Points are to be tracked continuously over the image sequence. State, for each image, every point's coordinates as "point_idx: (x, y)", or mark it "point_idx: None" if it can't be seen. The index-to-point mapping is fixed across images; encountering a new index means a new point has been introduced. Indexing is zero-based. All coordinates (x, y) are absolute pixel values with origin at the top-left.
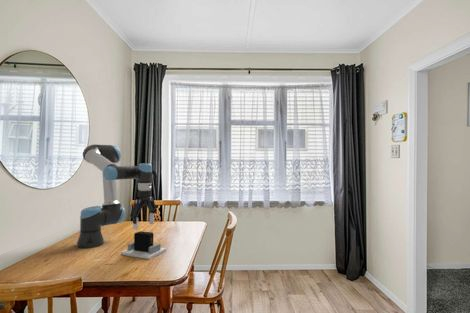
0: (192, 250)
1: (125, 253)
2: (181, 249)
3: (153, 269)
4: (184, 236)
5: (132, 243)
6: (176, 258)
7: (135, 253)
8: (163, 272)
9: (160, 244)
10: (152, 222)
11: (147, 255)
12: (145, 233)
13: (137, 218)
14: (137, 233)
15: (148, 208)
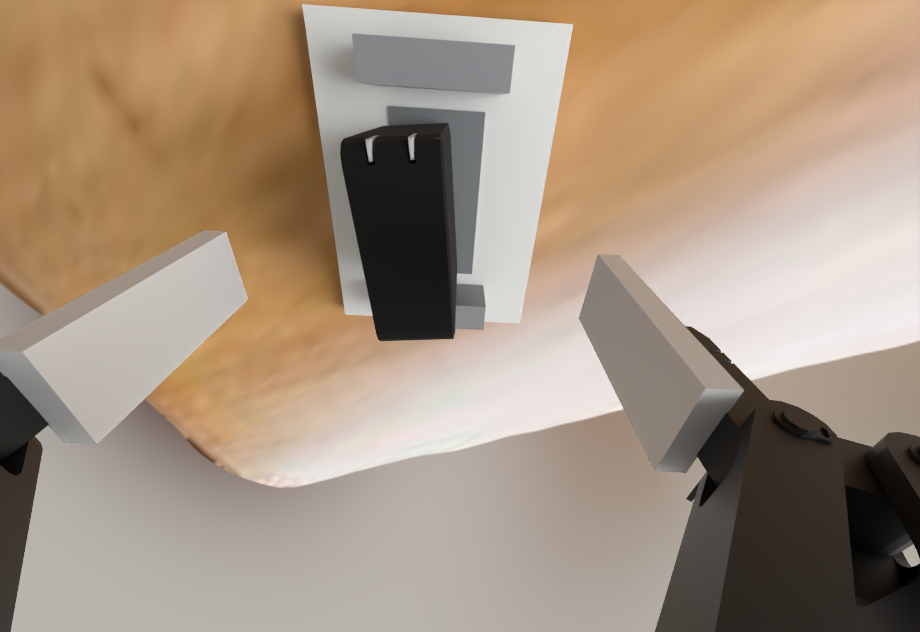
0: (560, 421)
1: (315, 78)
2: (566, 373)
3: (260, 390)
4: (914, 257)
5: (397, 76)
6: (425, 409)
7: (340, 188)
8: (265, 433)
9: (482, 326)
10: (589, 325)
11: (352, 293)
12: (385, 296)
13: (83, 431)
14: (348, 198)
15: (717, 581)
